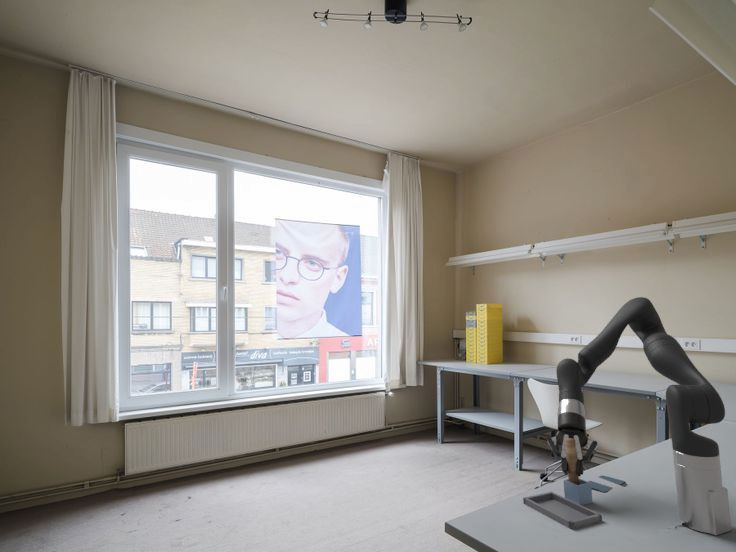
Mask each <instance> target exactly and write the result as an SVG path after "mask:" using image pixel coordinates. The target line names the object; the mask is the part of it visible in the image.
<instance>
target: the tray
mask: <svg viewBox="0 0 736 552" xmlns="http://www.w3.org/2000/svg"><path fill="white" fill-rule="evenodd" d="M522 501H523V502H522V503H523V504H524V505H525V506H527V507H529V508H531V509H532V510H534V511H537V512H539V513H541V514H542V515H544V516H547V517H548V518H550V519H552V521H553V520H554V521H556V522H557V523H559V524H561V525H563V526H564V527H566V528H568V529H570V530H575V529H578V528H582V527H586V526H589V525H590V526H591V525H594V524H596V523H600V522H603V515H602V514H601V513H598V512H596V511H594V510H592V509H590V508H588V507H585V506H584V505H579V504H577V503H575V502H573V501H571V500H569V499H566V498H565V496H562V495H561V494H558V493H557V492H556V493H555V492H553V491H548V492H544V493H538V494H535V495H529V496H525V497H523V498H522Z"/></svg>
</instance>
